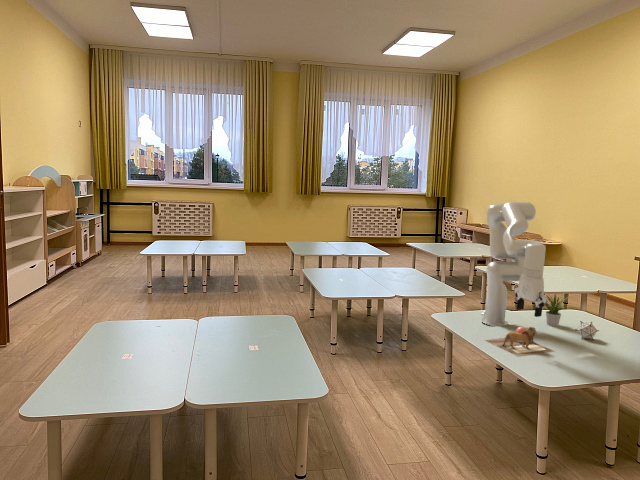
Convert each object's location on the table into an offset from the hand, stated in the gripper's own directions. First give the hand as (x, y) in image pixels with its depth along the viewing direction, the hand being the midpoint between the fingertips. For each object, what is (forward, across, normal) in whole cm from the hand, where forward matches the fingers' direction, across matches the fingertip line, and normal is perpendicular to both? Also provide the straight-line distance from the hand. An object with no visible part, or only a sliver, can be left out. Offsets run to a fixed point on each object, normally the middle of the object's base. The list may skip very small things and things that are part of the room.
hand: (528, 312), depth 199 cm
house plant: (+18, -25, +44) cm, 53 cm away
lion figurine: (+16, -1, -2) cm, 16 cm away
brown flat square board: (+17, -3, 0) cm, 17 cm away
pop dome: (+15, -8, +6) cm, 18 cm away
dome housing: (+16, -8, +6) cm, 19 cm away
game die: (+18, -4, +41) cm, 44 cm away
